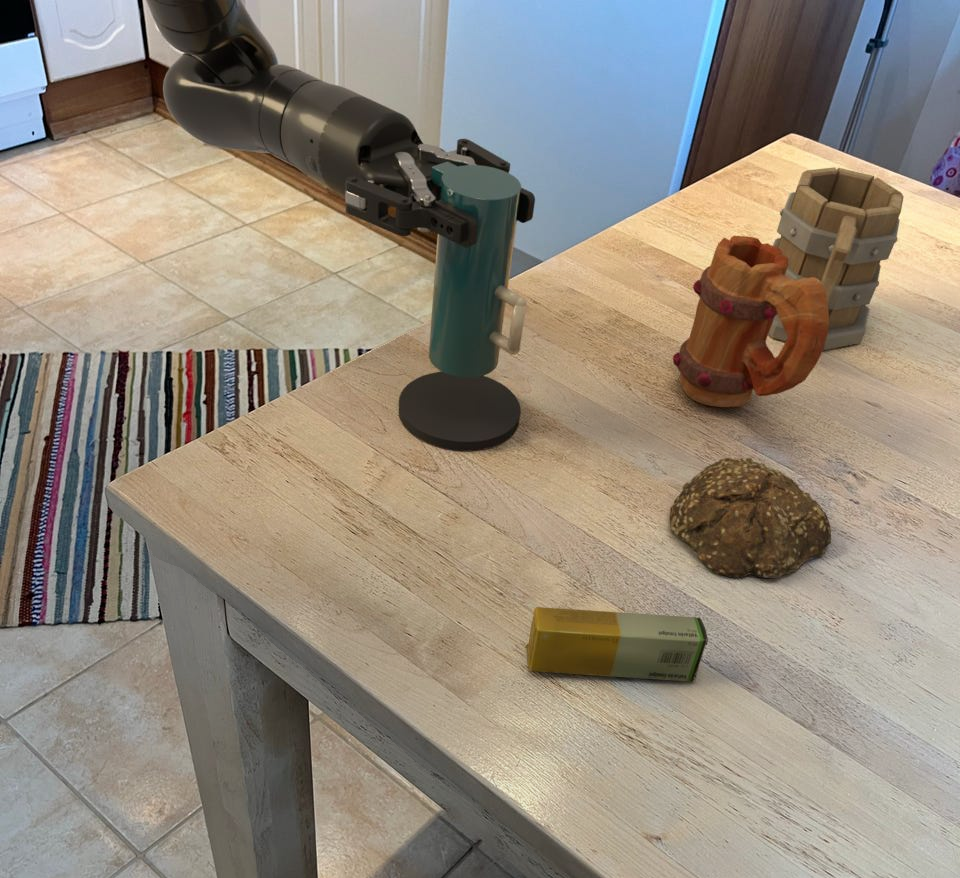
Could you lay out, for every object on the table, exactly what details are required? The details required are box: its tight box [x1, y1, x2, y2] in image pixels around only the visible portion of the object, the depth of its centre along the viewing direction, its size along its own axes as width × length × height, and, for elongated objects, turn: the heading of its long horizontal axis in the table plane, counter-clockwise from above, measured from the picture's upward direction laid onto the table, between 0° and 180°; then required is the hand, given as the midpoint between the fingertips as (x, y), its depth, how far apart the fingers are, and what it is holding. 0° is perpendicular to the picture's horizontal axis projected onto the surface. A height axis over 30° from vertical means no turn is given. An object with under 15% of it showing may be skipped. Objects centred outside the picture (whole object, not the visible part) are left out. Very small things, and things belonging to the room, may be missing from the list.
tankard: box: [768, 167, 904, 351], centre depth 99 cm, size 20×13×15 cm, turn 160°
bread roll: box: [668, 457, 832, 579], centre depth 80 cm, size 13×12×5 cm
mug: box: [672, 235, 829, 408], centre depth 88 cm, size 15×8×15 cm, turn 27°
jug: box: [428, 162, 527, 378], centre depth 79 cm, size 10×6×15 cm, turn 47°
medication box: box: [525, 606, 709, 683], centre depth 68 cm, size 12×3×4 cm, turn 91°
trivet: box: [397, 371, 522, 452], centre depth 88 cm, size 11×11×1 cm
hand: (502, 221), depth 74 cm, fingers closed on jug, 6 cm apart
